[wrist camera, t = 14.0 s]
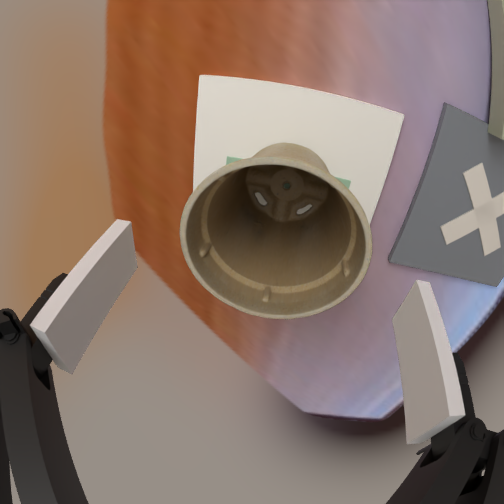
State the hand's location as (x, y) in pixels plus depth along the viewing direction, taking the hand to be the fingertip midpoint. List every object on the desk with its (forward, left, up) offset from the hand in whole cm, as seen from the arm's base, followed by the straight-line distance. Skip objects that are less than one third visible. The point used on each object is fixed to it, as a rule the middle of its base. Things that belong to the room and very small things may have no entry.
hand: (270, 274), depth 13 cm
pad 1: (0, 0, -11) cm, 11 cm away
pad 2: (-2, +17, -11) cm, 20 cm away
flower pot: (0, 0, -10) cm, 10 cm away
